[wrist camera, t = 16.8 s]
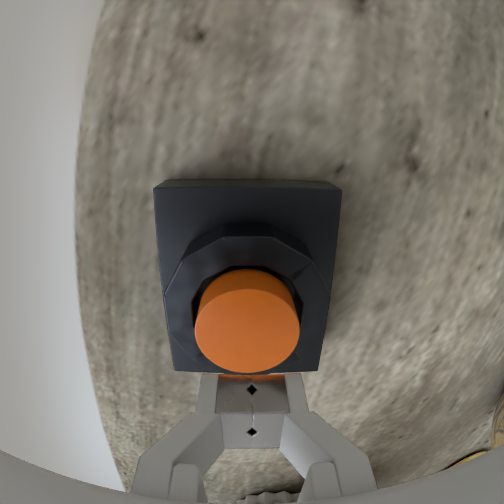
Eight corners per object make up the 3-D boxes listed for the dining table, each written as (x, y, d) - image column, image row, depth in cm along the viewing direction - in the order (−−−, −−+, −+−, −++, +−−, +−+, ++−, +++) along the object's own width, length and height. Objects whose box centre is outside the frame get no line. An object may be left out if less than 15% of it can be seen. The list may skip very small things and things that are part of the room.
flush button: (197, 267, 13) (190, 288, 11) (297, 268, 13) (305, 288, 11) (202, 346, 14) (198, 372, 12) (290, 347, 14) (294, 372, 12)
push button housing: (165, 180, 15) (139, 196, 11) (329, 181, 15) (356, 198, 11) (180, 347, 18) (168, 393, 15) (311, 347, 19) (323, 393, 15)
